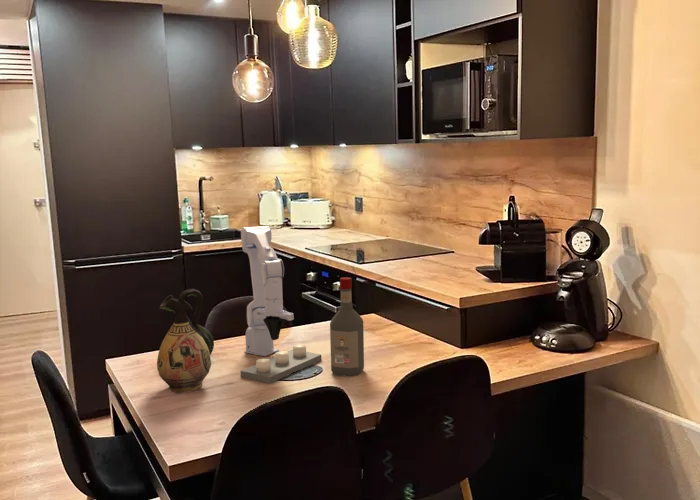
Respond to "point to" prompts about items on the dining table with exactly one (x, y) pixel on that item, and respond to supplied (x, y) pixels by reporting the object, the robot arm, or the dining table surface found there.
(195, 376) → the ceramic jug
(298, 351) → the knob
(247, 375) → the mount board
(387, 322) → the dining table surface
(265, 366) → the knob
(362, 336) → the liquor
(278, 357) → the knob middle
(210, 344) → the squash
